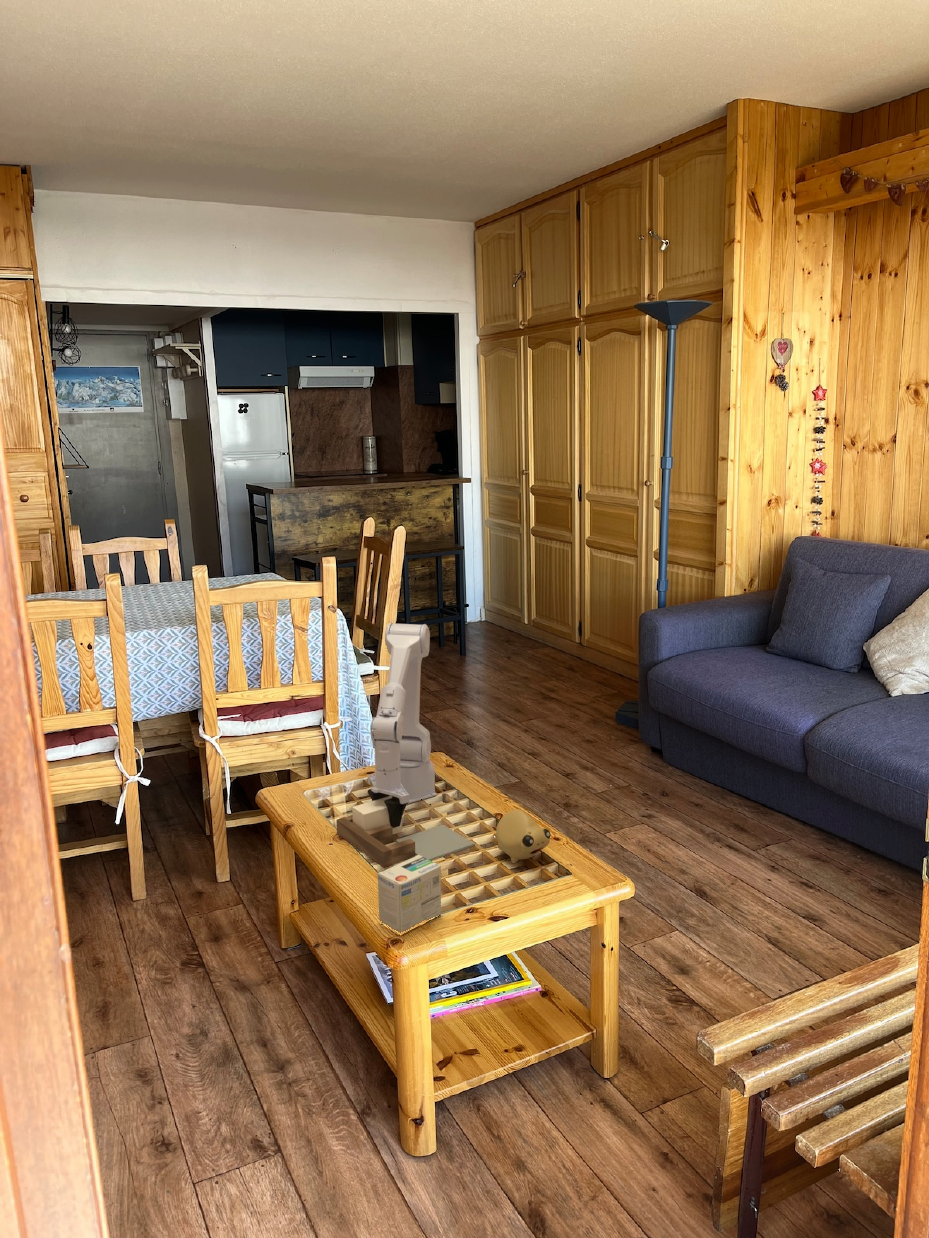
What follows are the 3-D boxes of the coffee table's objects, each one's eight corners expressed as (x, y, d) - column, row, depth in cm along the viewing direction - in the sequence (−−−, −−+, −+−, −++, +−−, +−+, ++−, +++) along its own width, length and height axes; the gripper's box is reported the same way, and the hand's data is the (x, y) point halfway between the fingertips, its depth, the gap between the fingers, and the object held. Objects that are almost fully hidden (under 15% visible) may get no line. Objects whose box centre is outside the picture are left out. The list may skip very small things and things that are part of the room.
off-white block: (390, 823, 222) (389, 795, 220) (402, 831, 218) (401, 803, 216) (353, 835, 216) (352, 806, 214) (364, 843, 212) (363, 814, 211)
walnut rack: (367, 824, 222) (366, 810, 221) (415, 856, 206) (415, 841, 205) (336, 833, 217) (336, 819, 216) (383, 867, 201) (383, 852, 201)
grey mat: (443, 826, 221) (443, 824, 220) (474, 845, 211) (474, 843, 211) (395, 841, 213) (395, 839, 213) (426, 862, 204) (426, 860, 203)
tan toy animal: (522, 876, 198) (523, 828, 195) (487, 854, 207) (487, 809, 205) (558, 862, 203) (559, 816, 201) (522, 842, 213) (522, 797, 210)
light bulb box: (419, 903, 187) (418, 852, 185) (442, 916, 183) (442, 864, 180) (377, 923, 180) (375, 871, 178) (400, 937, 175) (399, 884, 173)
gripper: (355, 760, 219) (357, 815, 222) (390, 780, 207) (391, 838, 210) (382, 754, 223) (383, 808, 226) (416, 773, 211) (417, 829, 214)
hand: (388, 822), depth 218 cm, fingers closed on off-white block, 5 cm apart
